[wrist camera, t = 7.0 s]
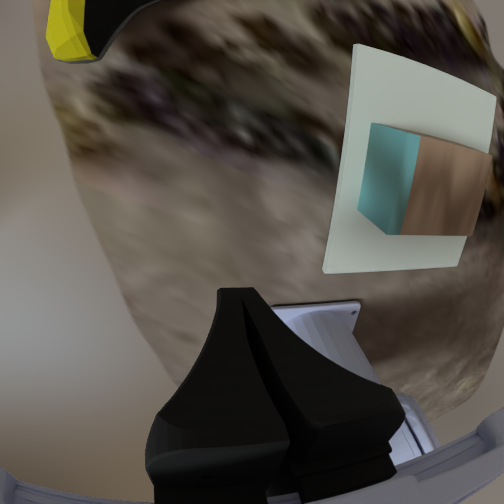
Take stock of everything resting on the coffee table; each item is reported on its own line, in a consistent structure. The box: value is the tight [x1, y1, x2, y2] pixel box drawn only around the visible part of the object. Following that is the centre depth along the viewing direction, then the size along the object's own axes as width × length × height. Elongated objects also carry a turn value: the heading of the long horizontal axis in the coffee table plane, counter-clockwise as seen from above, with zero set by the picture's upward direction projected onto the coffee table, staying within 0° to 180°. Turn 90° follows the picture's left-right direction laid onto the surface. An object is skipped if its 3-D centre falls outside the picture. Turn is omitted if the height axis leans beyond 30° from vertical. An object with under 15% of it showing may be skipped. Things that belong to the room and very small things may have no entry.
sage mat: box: [322, 44, 496, 274], centre depth 21 cm, size 16×14×1 cm
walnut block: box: [357, 123, 492, 236], centre depth 18 cm, size 6×4×8 cm
